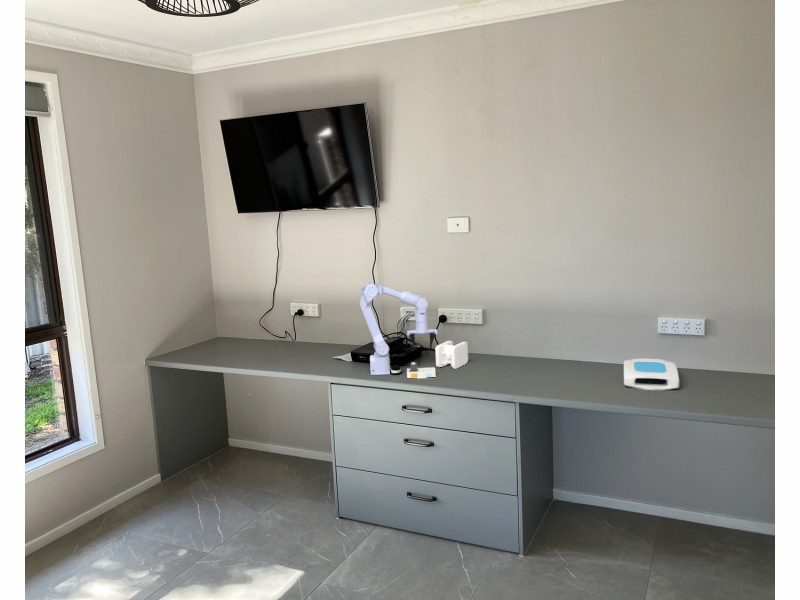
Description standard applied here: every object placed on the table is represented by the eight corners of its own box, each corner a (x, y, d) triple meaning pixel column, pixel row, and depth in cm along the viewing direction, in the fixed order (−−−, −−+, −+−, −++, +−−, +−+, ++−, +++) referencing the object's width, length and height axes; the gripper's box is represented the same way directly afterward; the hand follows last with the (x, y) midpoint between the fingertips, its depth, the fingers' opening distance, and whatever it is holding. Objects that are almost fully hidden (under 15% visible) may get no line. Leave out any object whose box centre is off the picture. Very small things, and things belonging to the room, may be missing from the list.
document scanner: (673, 372, 281) (673, 358, 280) (679, 391, 255) (679, 376, 254) (623, 370, 288) (623, 357, 287) (624, 389, 262) (624, 374, 261)
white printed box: (407, 379, 292) (406, 372, 291) (407, 374, 299) (407, 368, 298) (435, 377, 291) (435, 371, 291) (435, 373, 298) (434, 367, 298)
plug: (410, 377, 294) (410, 363, 293) (410, 375, 297) (410, 362, 296) (417, 377, 294) (416, 363, 293) (417, 375, 297) (416, 361, 296)
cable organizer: (454, 371, 300) (453, 347, 298) (435, 369, 306) (434, 345, 304) (468, 363, 313) (468, 340, 311) (450, 361, 318) (449, 339, 317)
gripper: (406, 323, 300) (407, 351, 302) (436, 322, 300) (438, 350, 302) (406, 320, 307) (408, 348, 309) (436, 319, 307) (437, 346, 309)
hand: (422, 348), depth 306 cm, fingers open, 7 cm apart
